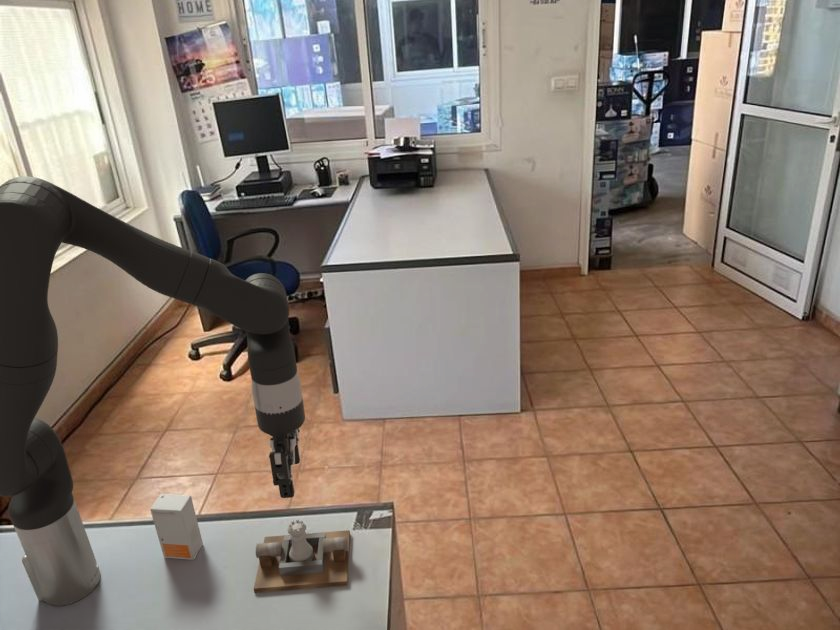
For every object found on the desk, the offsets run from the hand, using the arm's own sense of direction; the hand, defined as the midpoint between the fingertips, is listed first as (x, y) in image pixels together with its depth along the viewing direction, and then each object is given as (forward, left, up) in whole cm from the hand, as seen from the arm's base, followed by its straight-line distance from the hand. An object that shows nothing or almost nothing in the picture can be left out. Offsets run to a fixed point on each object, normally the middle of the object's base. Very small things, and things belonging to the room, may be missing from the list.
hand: (290, 479), depth 108 cm
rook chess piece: (0, 0, -18) cm, 18 cm away
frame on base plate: (0, 0, -19) cm, 19 cm away
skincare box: (-23, +5, -19) cm, 30 cm away
